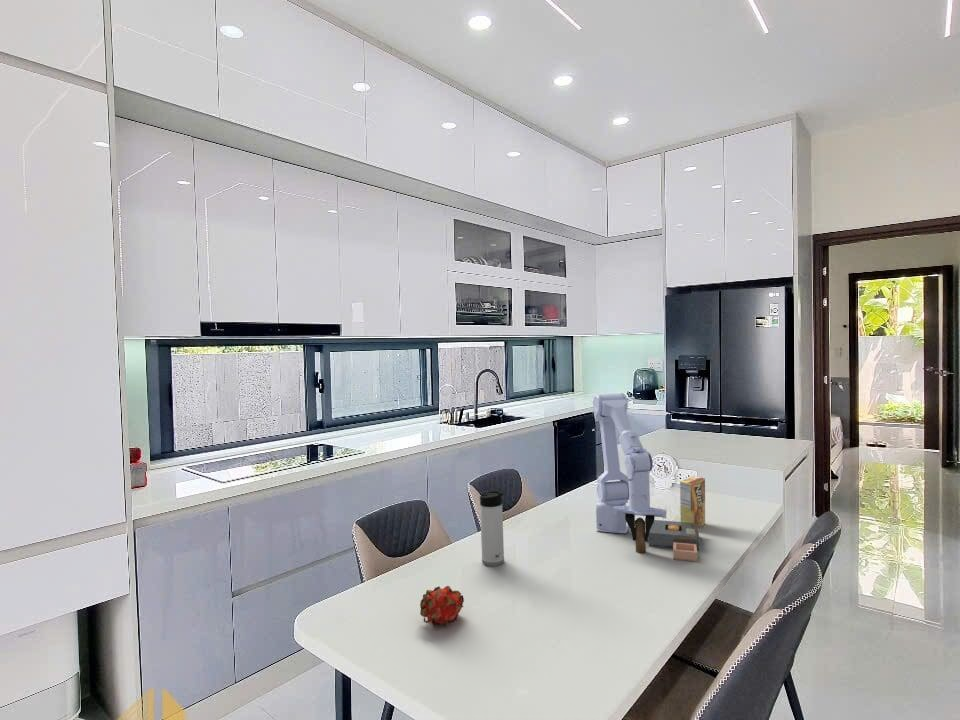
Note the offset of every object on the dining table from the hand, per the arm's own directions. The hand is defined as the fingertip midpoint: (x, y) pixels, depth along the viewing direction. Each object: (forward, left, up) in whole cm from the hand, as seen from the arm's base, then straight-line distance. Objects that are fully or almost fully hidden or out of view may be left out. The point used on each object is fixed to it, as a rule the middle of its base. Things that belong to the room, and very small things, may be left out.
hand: (640, 540), depth 155 cm
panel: (+9, +11, -3) cm, 15 cm away
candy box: (+15, +26, -4) cm, 30 cm away
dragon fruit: (-40, -51, -4) cm, 65 cm away
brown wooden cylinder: (0, 0, -3) cm, 3 cm away
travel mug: (-39, -18, -4) cm, 43 cm away
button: (+9, +11, -1) cm, 14 cm away
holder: (+12, 0, -3) cm, 12 cm away
